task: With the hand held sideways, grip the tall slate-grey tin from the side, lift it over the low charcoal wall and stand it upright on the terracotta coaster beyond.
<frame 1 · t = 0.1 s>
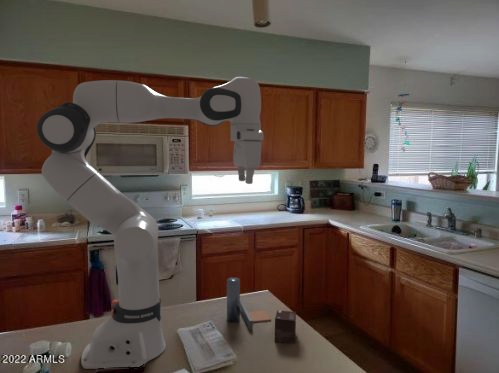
hand: (245, 182, 104), 48 cm above the countertop, tool pointing down, fingers open, 8 cm apart
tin: (233, 319, 120), on the countertop
box: (285, 338, 108), on the countertop
wall: (245, 318, 121), on the countertop
coaster: (258, 317, 122), on the countertop
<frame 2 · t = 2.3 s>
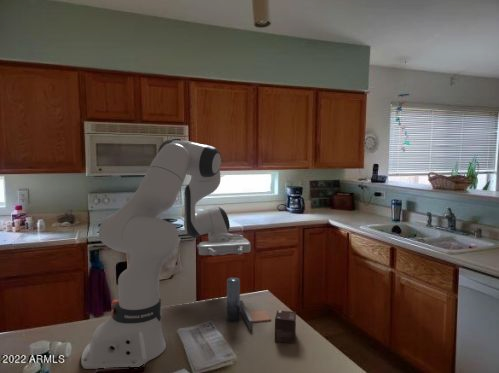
hand: (227, 253, 130), 20 cm above the countertop, tool horizontal, fingers open, 8 cm apart
nothing on the countertop moved.
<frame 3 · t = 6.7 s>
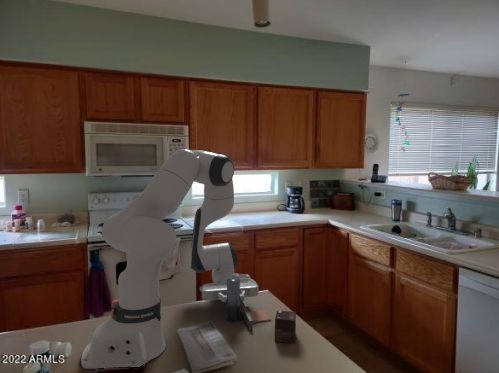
hand: (233, 299, 118), 8 cm above the countertop, tool horizontal, fingers closed on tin, 4 cm apart
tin: (233, 319, 120), on the countertop, touching gripper
everything else where it was.
when the fingers open (9 cm above the countertop, at t = 11.2 s): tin stays where it is, resting on coaster.
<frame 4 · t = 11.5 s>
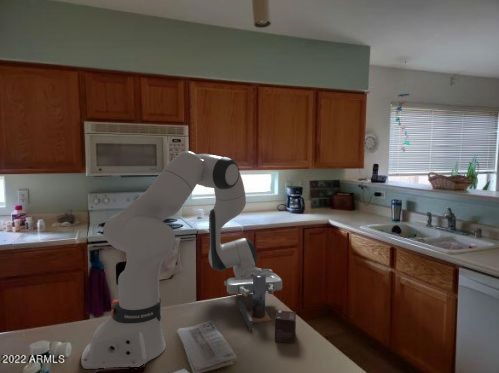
hand: (259, 292, 120), 9 cm above the countertop, tool horizontal, fingers open, 7 cm apart
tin: (258, 315, 122), point 1 cm above the countertop, touching coaster
everything else where it was.
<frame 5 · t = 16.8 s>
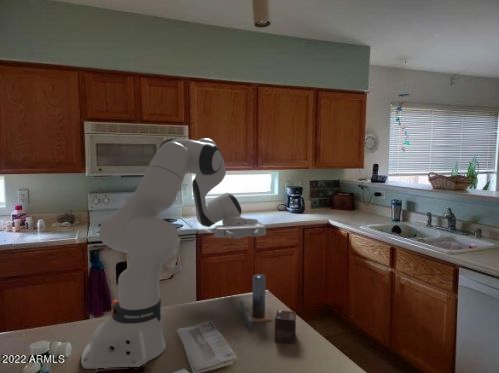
hand: (244, 235, 131), 26 cm above the countertop, tool horizontal, fingers open, 8 cm apart
nothing on the countertop moved.
at the end: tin 0.0 cm off-centre on the coaster, point 0.5 cm above the coaster's base; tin tilted 1°; the gripper is holding nothing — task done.
